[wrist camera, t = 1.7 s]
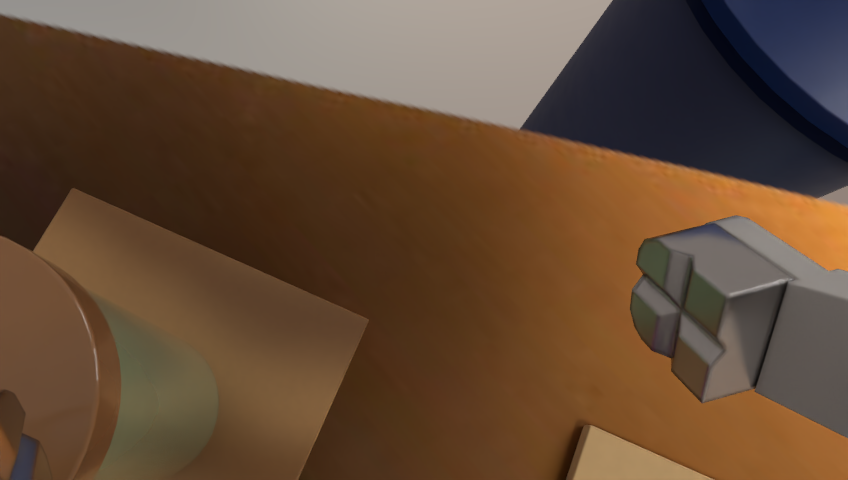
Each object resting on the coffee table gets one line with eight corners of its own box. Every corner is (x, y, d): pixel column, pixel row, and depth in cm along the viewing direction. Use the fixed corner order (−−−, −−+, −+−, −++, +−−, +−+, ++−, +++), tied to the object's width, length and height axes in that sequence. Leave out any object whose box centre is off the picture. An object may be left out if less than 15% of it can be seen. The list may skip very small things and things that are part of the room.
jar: (108, 303, 22) (-159, 164, 10) (249, 365, 22) (165, 307, 10) (24, 451, 21) (-418, 512, 8) (175, 516, 21) (-32, 670, 8)
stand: (120, 231, 29) (71, 186, 23) (359, 337, 29) (369, 319, 23) (-29, 487, 25) (-130, 510, 20) (240, 601, 26) (219, 656, 20)
